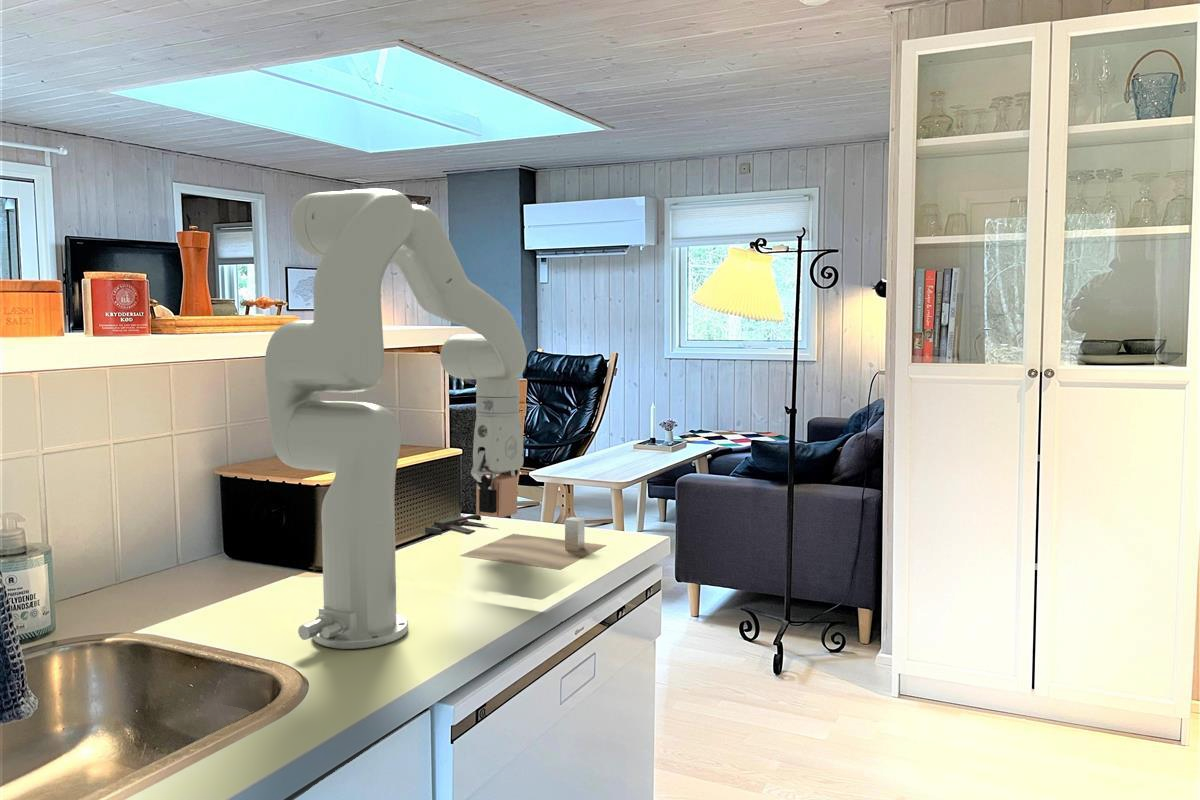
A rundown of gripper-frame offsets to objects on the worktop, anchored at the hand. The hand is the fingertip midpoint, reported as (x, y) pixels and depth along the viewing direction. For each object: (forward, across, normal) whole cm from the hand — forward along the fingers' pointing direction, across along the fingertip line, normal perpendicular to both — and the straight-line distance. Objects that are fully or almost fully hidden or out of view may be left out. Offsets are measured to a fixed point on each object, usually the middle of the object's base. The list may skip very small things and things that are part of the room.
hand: (496, 508), depth 156 cm
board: (+9, +5, -5) cm, 12 cm away
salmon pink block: (+1, 0, 0) cm, 1 cm away
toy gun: (+10, +17, +17) cm, 26 cm away
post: (+9, +9, -11) cm, 17 cm away
